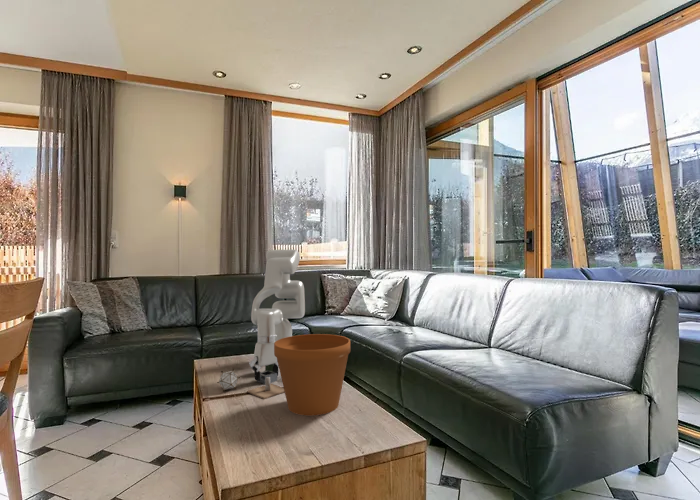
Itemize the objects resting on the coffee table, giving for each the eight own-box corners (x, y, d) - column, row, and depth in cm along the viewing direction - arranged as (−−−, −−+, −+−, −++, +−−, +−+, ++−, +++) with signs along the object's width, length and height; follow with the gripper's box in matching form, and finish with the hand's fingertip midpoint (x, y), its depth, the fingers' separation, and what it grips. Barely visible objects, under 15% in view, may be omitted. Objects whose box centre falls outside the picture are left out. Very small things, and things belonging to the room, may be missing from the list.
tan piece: (271, 385, 169) (271, 371, 169) (288, 391, 160) (288, 377, 161) (247, 392, 160) (246, 378, 160) (264, 399, 152) (264, 384, 152)
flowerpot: (268, 398, 152) (268, 337, 153) (336, 388, 162) (335, 331, 163) (283, 427, 126) (282, 353, 127) (363, 413, 136) (362, 345, 137)
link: (268, 378, 179) (268, 370, 179) (277, 380, 174) (276, 372, 174) (256, 381, 174) (256, 373, 174) (265, 384, 170) (264, 376, 170)
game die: (223, 399, 163) (208, 380, 163) (237, 386, 170) (223, 368, 170) (234, 392, 158) (219, 373, 158) (248, 379, 165) (233, 360, 165)
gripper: (276, 335, 183) (277, 371, 183) (244, 341, 171) (245, 380, 170) (286, 337, 178) (287, 374, 178) (254, 343, 166) (254, 384, 165)
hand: (266, 377), depth 174 cm, fingers open, 9 cm apart
